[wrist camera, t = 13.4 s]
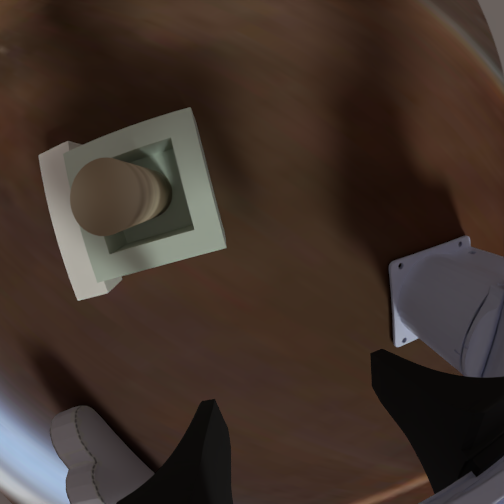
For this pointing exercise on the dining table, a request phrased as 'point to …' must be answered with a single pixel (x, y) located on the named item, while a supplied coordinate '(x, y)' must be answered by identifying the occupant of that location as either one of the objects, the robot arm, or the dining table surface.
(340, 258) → the dining table surface
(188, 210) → the socket block
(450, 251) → the robot arm
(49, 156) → the backstop wall
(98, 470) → the decorative item
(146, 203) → the dowel
